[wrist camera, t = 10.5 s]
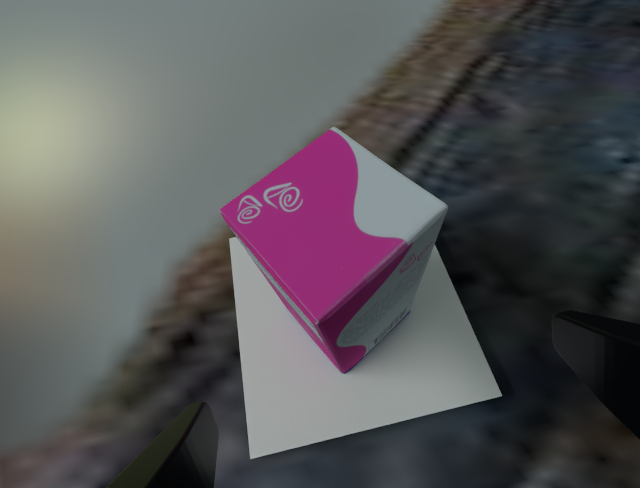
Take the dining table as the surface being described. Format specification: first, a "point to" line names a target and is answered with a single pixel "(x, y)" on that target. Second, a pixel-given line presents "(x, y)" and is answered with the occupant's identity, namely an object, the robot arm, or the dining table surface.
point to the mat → (364, 378)
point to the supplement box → (339, 242)
